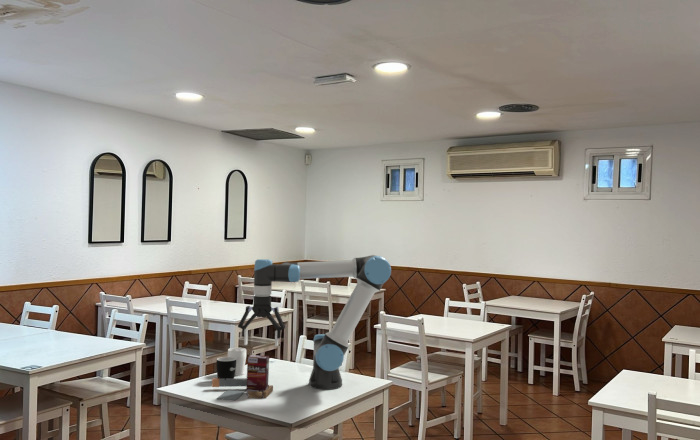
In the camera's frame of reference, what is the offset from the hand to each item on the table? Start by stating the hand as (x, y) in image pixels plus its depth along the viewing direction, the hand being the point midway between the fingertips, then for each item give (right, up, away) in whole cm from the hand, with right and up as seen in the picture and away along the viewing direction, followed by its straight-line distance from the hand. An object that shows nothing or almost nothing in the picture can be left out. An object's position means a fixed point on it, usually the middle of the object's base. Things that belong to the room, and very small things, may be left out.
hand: (261, 345), depth 242 cm
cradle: (-2, -21, +1) cm, 21 cm away
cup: (-17, -21, +32) cm, 42 cm away
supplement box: (-2, -21, -1) cm, 21 cm away
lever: (-13, -20, +6) cm, 24 cm away
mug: (-19, -21, +21) cm, 35 cm away
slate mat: (-12, -20, -4) cm, 24 cm away
